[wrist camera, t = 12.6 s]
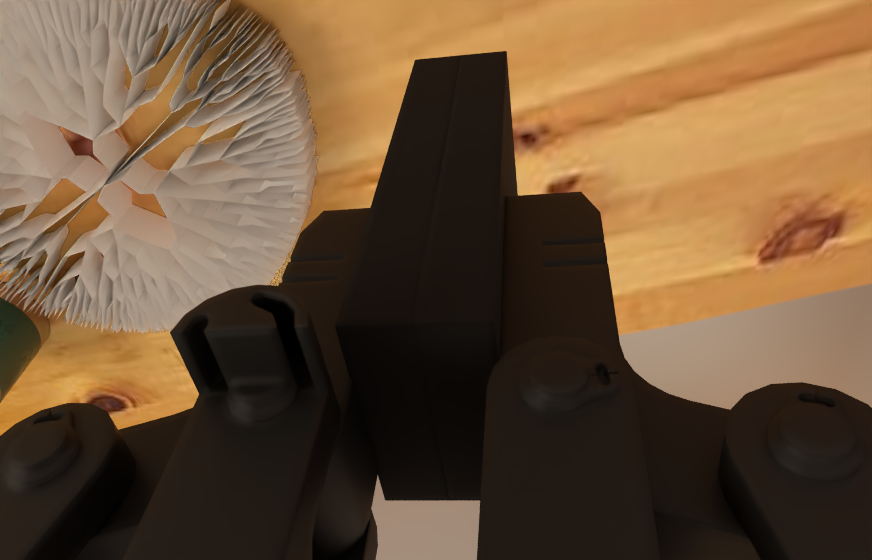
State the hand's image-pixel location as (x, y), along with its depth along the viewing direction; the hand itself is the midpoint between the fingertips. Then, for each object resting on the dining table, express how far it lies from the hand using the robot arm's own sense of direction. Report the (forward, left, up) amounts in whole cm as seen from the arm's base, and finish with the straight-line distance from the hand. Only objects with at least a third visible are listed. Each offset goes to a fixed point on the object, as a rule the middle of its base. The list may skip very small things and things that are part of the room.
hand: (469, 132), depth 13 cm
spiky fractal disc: (+13, -24, -27) cm, 39 cm away
